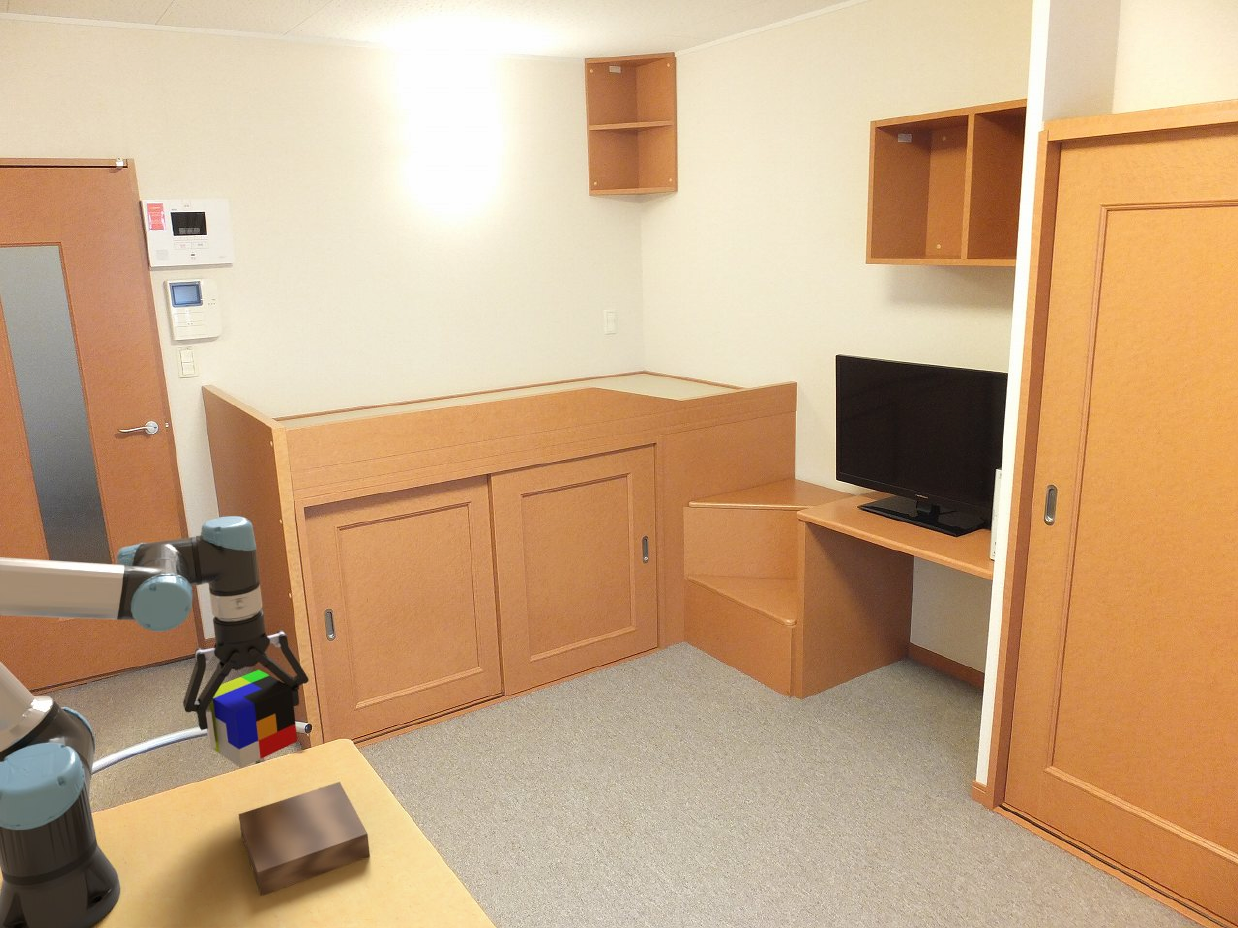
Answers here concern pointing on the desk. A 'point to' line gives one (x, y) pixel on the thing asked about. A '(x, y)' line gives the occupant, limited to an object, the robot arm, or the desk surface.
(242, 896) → the desk surface
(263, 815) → the walnut plinth
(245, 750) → the puzzle toy
